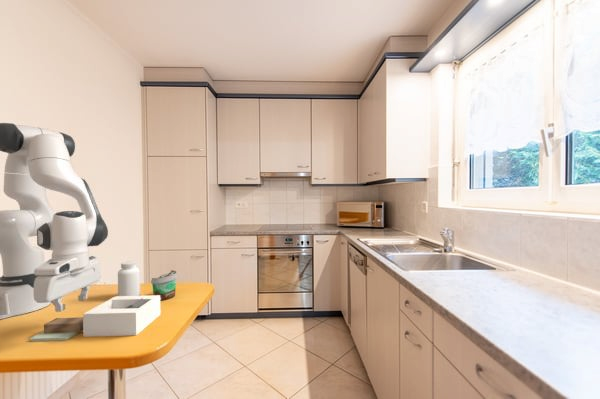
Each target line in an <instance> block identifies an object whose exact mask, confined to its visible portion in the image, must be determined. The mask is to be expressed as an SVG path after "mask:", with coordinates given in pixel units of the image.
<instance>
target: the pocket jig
mask: <svg viewBox="0 0 600 399" xmlns="http://www.w3.org/2000/svg"><path fill="white" fill-rule="evenodd" d="M142 298H143V300H145V302H144V303H143V304H141V305H140V306H138V307H137V308H128V309H124V308H126V307H128V306H130V305H131V304H132V305H133V304H134V303H135V302H137V301H138V300H140V299H142ZM133 306H134V305H133ZM161 312H162V311H161V301H160V295H153V294H152V295H151V294H150V295H139V296H118V295H117V296H116V295H115V296H113V297H111V298H110V299H108V300H105V301H104V302H102V303H100V304H99V305H97V306H95V307H93V308H91V309H90V310H87V311H85V312H84V313H83V314H82V317H83V331H82V332H83V333H82V334H83V337H116V336H117V337H119V336H137V335H138V334H140V332H142V331H143V330H144V329H145V328H147V327H148V326H149V325H150V324H151V323H152V322H153V321H154V320H156V319H158V318H159V316H161Z"/></svg>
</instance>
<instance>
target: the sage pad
mask: <svg viewBox="0 0 600 399" xmlns="http://www.w3.org/2000/svg"><path fill="white" fill-rule="evenodd" d="M79 333H80V332H73V333H44V330H43V331H41V332H39V333H38V334H36V335H33V336H32V337H30V338H28V339H29V342H54V341H55V342H57V341H58V342H59V341H61V342H62V341H65V342H66V341H68V340H70V339H71V338H73V337H75V336H76V335H78V334H79Z"/></svg>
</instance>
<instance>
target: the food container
mask: <svg viewBox="0 0 600 399" xmlns="http://www.w3.org/2000/svg"><path fill="white" fill-rule="evenodd" d="M178 277H179V276H178V272H177V271H176V270H170V272H169V273H165V274H162V275H160V276H159V277H152V278H151V280H150V284H152V293H153V294H152V295H160V302H164V301H168V300H172V299H173V298H175V297H176V288H177V285H176V284H177V278H178Z"/></svg>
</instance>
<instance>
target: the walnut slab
mask: <svg viewBox="0 0 600 399" xmlns="http://www.w3.org/2000/svg"><path fill="white" fill-rule="evenodd" d="M43 331H44V333H73V332H79V333H82V332H83V316H79V317H78V316H77V317H56V318H54V319H52V320H50V321H48V322H46V323H44V324H43Z"/></svg>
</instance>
